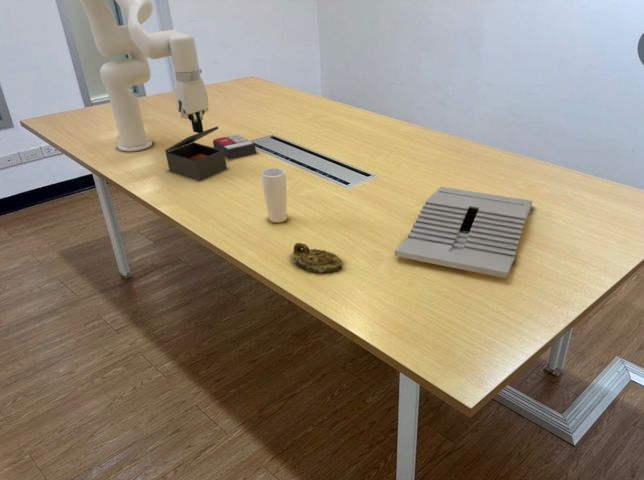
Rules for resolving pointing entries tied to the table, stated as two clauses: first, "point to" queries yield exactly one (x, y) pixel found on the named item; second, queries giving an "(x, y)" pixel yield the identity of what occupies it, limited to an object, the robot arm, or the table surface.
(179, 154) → the case
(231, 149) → the calculator
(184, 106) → the robot arm
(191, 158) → the block
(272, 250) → the table surface
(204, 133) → the case lid
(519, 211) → the grey grooved board
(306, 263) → the seal
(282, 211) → the drinking glass
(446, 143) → the table surface
